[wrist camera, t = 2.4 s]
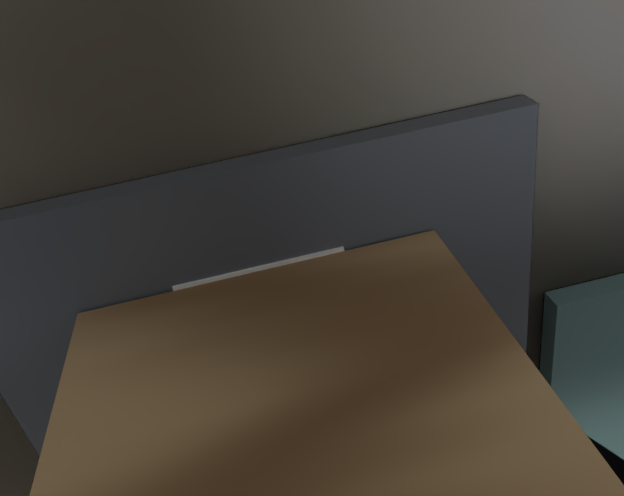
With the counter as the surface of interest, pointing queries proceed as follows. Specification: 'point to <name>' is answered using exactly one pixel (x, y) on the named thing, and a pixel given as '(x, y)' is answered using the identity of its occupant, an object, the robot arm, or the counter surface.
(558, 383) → the rubber mat
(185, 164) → the counter surface
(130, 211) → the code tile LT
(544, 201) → the counter surface
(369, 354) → the oak block
